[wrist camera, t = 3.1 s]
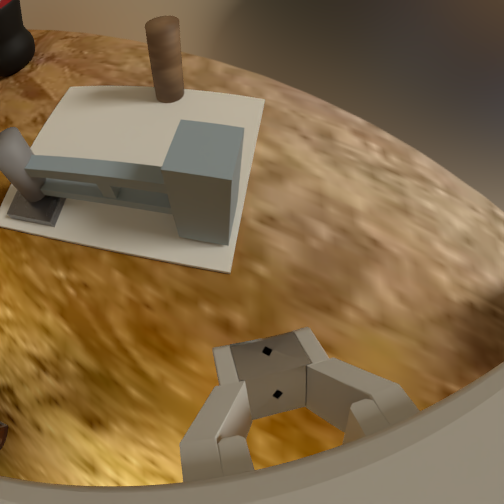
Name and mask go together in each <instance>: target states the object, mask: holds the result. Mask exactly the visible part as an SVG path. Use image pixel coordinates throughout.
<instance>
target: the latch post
mask: <svg viewBox="0 0 504 504" xmlns="http://www.w3.org/2000/svg"><path fill="white" fill-rule="evenodd" d="M145 29H146V36H147V43H148V50H149V57H150V63H151V69H152V76H153V82H154V87H155V93H156V98H157V100H158V101H160V102H162V103H173V102H176V101H178V100H180V99H181V98H182V97H183V96H184V83H183V70H182V57H181V43H180V28H179V19H178V18H177V17H174V16H161V17H157V18H154V19H152V20H149V21H148V22H147V23H146V24H145Z"/></svg>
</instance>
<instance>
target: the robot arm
mask: <svg viewBox="0 0 504 504" xmlns="http://www.w3.org/2000/svg"><path fill="white" fill-rule="evenodd" d="M213 356H214V361H215V366H216V371H217V376H218V381H219V385H220V386H216V387H214V389H213V390H212V392H211V394H210V395H209V397H208V399H207V400H206V402H205V404H204V405H203V407H202V408H201V410H200V412H199V413H198V415H197V417H196V418H195V420H194V421H193V423H192V425H191V426H190V428H189V430H188V431H187V433H186V434H185V436H184V438H183V439H182V441H181V442H180V454H181V464H182V474H183V482H182V483H173V484H161V485H147V486H115V487H107V486H76V485H62V484H51V483H42V482H34V481H27V480H20V479H14V478H9V477H3V476H0V504H504V362H502V363H501V364H499V365H498V366H496V367H495V368H493V369H492V370H490V371H489V372H487V373H486V374H484V375H483V376H481V377H480V378H478V379H477V380H475V381H473V382H472V383H470V384H469V385H467V386H465V387H464V388H462V389H460V390H459V391H457V392H455V393H454V394H452V395H450V396H448V397H446V398H445V399H443V400H441V401H439V402H437V403H436V404H434V405H432V406H430V407H428V408H426V409H424V410H422V411H419V410H418V408H417V407H416V406H415V404H414V403H413V402H412V401H411V399H410V398H409V397H408V395H407V394H406V393H405V392H404V390H403V389H402V388H401V386H400V385H399V384H397V383H394V382H392V381H389V380H387V379H384V378H382V377H379V376H377V375H374V374H372V373H369V372H367V371H365V370H362V369H360V368H357V367H355V366H353V365H350V364H348V363H345V362H343V361H341V360H338V359H336V358H331V359H329V357H328V356H327V354H326V353H325V351H324V349H323V348H322V346H321V345H320V343H319V342H318V340H317V339H316V337H315V335H314V334H313V332H312V331H311V329H310V328H309V327H305V328H301V329H298V330H294V331H292V332H287V333H283V334H279V335H275V336H271V337H266V338H262V339H257V340H252V341H246V342H241V343H236V344H230V346H229V345H226V346H220V347H215V348H213ZM305 406H306V408H308V409H309V410H311V411H312V412H314V413H315V414H317V415H318V416H320V417H321V418H323V419H324V420H326V421H327V422H329V423H330V424H332V425H334V426H335V427H337V428H338V429H340V430H341V431H343V432H345V435H344V440H343V444H342V445H341V446H338V447H336V448H333V449H330V450H327V451H324V452H321V453H318V454H314V455H311V456H308V457H305V458H301V459H298V460H294V461H291V462H287V463H283V464H280V465H276V466H272V467H268V468H263V469H259V470H254V467H253V463H252V460H251V457H250V453H249V450H248V446H247V443H246V437H247V435H248V432H249V429H250V427H251V424H252V420H254V419H258V418H262V417H266V416H270V415H273V414H277V413H281V412H285V411H289V410H293V409H297V408H301V407H305Z"/></svg>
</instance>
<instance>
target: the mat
mask: <svg viewBox="0 0 504 504" xmlns="http://www.w3.org/2000/svg"><path fill="white" fill-rule="evenodd" d="M264 103H265V99H260V98H253V97H247V96H240V95H233V94H226V93H218V92H209V91H200V90H189V89H184V96H183V97H182V98H181V99H180V100H178V101H176V102H173V103H162V102H160V101H158V100H157V98H156V93H155V87H141V86H80V87H70V88H69V90H68V91H67V92H66V94H65V95H64V96H63V98H62V99H61V101H60V102H59V104H58V105H57V106H56V108H55V109H54V111H53V112H52V114H51V115H50V117H49V118H48V120H47V122H46V123H45V125H44V126H43V128H42V129H41V131H40V133H39V134H38V136H37V138H36V139H35V141H34V143H33V144H32V146H31V148H30V149H31V150H32V152H33V153H34V155H44V156H60V157H74V158H86V159H97V160H108V161H117V162H127V163H136V164H144V165H153V166H160V167H162V165H163V162H164V160H165V157H166V155H167V152H168V150H169V147H170V145H171V142H172V140H173V137H174V135H175V132H176V130H177V127H178V125H179V123H180V120H181V119H182V120H191V121H199V122H207V123H215V124H222V125H229V126H236V127H242V128H244V138H243V149H242V159H241V169H240V180H239V191H238V202H237V207H236V212H235V217H234V221H233V226H232V231H231V236H230V241H229V246H228V245H222V244H216V243H211V242H205V241H199V240H194V239H188V238H183V237H179V235H178V231H177V228H176V224H175V221H174V217H173V215H172V214H166V213H160V212H154V211H147V210H141V209H135V208H128V207H122V206H116V205H109V204H103V203H96V202H89V201H83V200H76V199H69V198H66V200H65V203H64V205H63V208H62V210H61V212H60V215H59V217H58V220H57V222H56V225H55V227H52V226H47V225H42V224H37V223H32V222H27V221H22V220H17V219H12V218H10V217H9V216H8V215H7V212H8V210H9V207H10V205H11V203H12V201H13V198H14V196H15V194H16V192H17V189H16V188H15V187H14V186H13V184H12V183H11V185H10V187H9V189H8V191H7V194H6V196H5V198H4V200H3V202H2V204H1V207H0V227H2V228H6V229H11V230H15V231H20V232H24V233H28V234H33V235H37V236H42V237H47V238H51V239H56V240H60V241H65V242H70V243H74V244H79V245H84V246H89V247H93V248H98V249H103V250H108V251H113V252H118V253H123V254H128V255H133V256H138V257H143V258H148V259H153V260H158V261H163V262H168V263H174V264H179V265H184V266H189V267H195V268H200V269H205V270H211V271H216V272H222V273H227V274H230V271H231V266H232V261H233V256H234V251H235V245H236V240H237V235H238V230H239V225H240V220H241V215H242V210H243V205H244V200H245V195H246V190H247V185H248V180H249V175H250V170H251V165H252V160H253V155H254V150H255V145H256V141H257V136H258V131H259V126H260V121H261V117H262V112H263V107H264Z"/></svg>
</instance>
